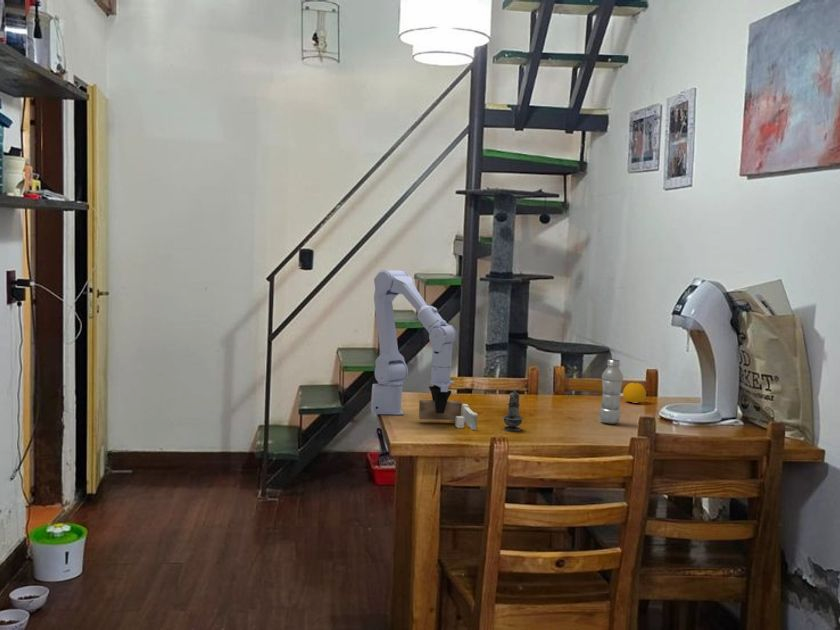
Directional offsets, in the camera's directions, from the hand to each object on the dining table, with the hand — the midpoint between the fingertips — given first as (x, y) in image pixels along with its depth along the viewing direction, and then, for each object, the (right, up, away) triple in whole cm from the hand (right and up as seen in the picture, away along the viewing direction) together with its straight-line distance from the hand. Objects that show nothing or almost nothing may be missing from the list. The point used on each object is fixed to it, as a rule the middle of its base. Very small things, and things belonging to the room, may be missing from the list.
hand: (438, 411), depth 240 cm
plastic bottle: (+53, -5, +13) cm, 55 cm away
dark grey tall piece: (+21, -5, -2) cm, 22 cm away
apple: (+71, -3, +51) cm, 88 cm away
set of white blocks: (+7, -4, +1) cm, 8 cm away
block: (0, -2, 0) cm, 2 cm away
